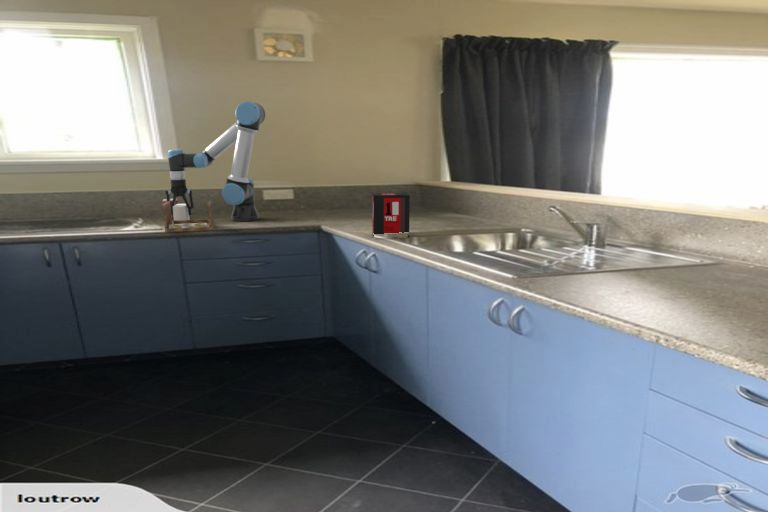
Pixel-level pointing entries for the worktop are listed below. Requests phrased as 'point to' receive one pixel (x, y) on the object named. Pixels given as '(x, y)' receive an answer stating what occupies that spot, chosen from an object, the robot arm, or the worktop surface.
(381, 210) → the cleaning product box
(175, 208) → the product carton
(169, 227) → the facing shelf
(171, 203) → the canned food
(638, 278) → the worktop surface
